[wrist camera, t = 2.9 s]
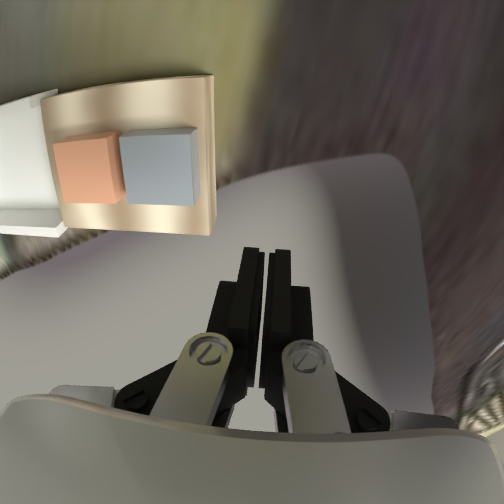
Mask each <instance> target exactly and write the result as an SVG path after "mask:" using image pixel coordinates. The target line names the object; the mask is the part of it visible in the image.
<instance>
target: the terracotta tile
mask: <svg viewBox="0 0 504 504" xmlns="http://www.w3.org/2000/svg"><path fill="white" fill-rule="evenodd" d="M119 137H120V132H119V131H112V132H101V133H91V134H81V135H73V136H67V137H65V138H63V139H61V140H59V141H57V142H55V143H53V149H54V155H55V160H56V166H57V171H58V176H59V180H60V185H61V189H62V194H63V198H64V202H65V203H102V204H116V203H117V202H118V201H119V200H120V199H121V198H122V197H123V196H124V195H125V194H126V188H125V182H124V175H123V168H122V160H121V152H120V144H119Z"/></svg>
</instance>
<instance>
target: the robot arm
mask: <svg viewBox="0 0 504 504" xmlns="http://www.w3.org/2000/svg"><path fill="white" fill-rule="evenodd" d="M264 257H265V253H264V252H259V248H252V247H244V250H243V255H242V260H241V264H240V269H239V274H238V280H237V282H231V281H220V282H219V286H218V289H217V293H216V297H215V300H214V304H213V308H212V312H211V316H210V319H209V323H208V327H207V331H206V333H200V334H198V335H195V336H193V337H192V338H191V339H189V340H188V342H187V343H186V345H185V346H184V348H183V350H182V352H181V354H180V356H179V358H178V360H176V361H174V362H172V363H170V364H168V365H166V366H164V367H162V368H160V369H158V370H156V371H154V372H153V373H150V374H148V375H147V376H144V377H142V378H141V379H138V380H137V381H134V382H132V383H130V384H128V385H126V386H125V387H123V388H122V389H121V390H115V389H114V387H100V386H76V385H60V386H57V387H55V388H53V389H52V390H51V391H50V392H49V394H32V395H25V396H21V397H17V398H15V399H13V400H12V401H10V402H9V403H7V404H6V405H5V407H4V408H3V409H2V410H1V412H0V504H504V465H503V462H502V460H501V457H500V455H499V453H498V451H497V449H496V447H495V446H494V445H493V444H492V442H491V441H490V440H488V439H487V438H485V437H483V436H481V435H479V434H476V433H473V432H469V431H465V430H459V427H458V425H457V424H456V422H455V421H454V420H452V419H451V418H449V417H446V416H440V415H430V414H422V413H414V412H406V411H399V410H395V411H394V412H393V413H392V412H387V411H386V410H385V409H384V408H383V407H382V406H381V405H379V404H378V403H377V402H375V401H374V400H372V399H371V398H370V397H369V396H367V395H366V394H365V393H363V392H362V391H361V390H359V389H358V388H357V387H355V386H354V385H353V384H351V383H350V382H349V381H347V380H346V379H345V378H343V377H342V376H341V375H339V374H338V373H337V372H336V371H335V370H334V367H333V363H332V360H331V356H330V354H329V352H328V350H327V349H326V348H325V347H324V346H323V345H321V344H319V343H318V342H315V341H313V327H312V311H311V297H310V288H309V287H302V286H291V251H290V250H282V249H276V250H275V253H270V254H269V265H268V277H267V290H266V301H265V312H264V324H263V336H262V351H261V364H260V378H259V388H265V394H264V397H265V400H266V401H267V402H268V403H269V404H270V405H272V406H273V407H274V411H273V413H274V420H275V429H276V432H262V431H250V430H239V429H229V428H228V426H229V423H230V420H231V417H232V414H233V411H234V407H235V403H237V402H239V401H240V400H241V399H243V398H245V395H247V388H248V387H254V380H255V370H256V361H257V351H258V340H259V330H260V321H261V310H262V293H263V276H264Z"/></svg>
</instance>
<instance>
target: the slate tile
mask: <svg viewBox="0 0 504 504" xmlns="http://www.w3.org/2000/svg"><path fill="white" fill-rule="evenodd" d="M119 144H120V152H121V160H122V168H123V175H124V182H125V188H126V195H127V201H128V204H147V205H176V206H194V205H195V203H196V202H197V200H198V198H199V196H200V195H201V190H200V170H199V145H198V128H160V129H139V130H130V131H129V132H127V133H125V134H123V135H122V136H120V137H119Z"/></svg>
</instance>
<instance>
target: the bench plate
mask: <svg viewBox="0 0 504 504" xmlns="http://www.w3.org/2000/svg"><path fill="white" fill-rule="evenodd" d="M40 105H41V113H42V121H43V128H44V134H45V140H46V146H47V152H48V157H49V163H50V168H51V172H52V177H53V182H54V186H55V191H56V195H57V199H58V203H59V207H60V211H61V215H62V218H63V222H64V226H65V227H70V228H90V229H109V230H127V231H144V232H161V233H178V234H194V235H195V234H196V235H210V233H211V230H212V228H213V225H214V223H215V220H216V218H217V214H216V181H215V137H214V75H199V76H179V77H166V78H154V79H144V80H135V81H127V82H120V83H113V84H106V85H100V86H94V87H89V88H83V89H78V90H73V91H68V92H64V93H60V94H56V95H53V96H50V97H47V98H44V99H41V100H40ZM160 128H198V145H199V170H200V190H201V195H200V196H199V198H198V200H197V202H196V203H195V205H194V206H176V205H147V204H128V201H127V195H126V194H125V195H124V196H123V197H122V198H121V199H120V200H119V201H118V202H117V203H116V204H102V203H65V202H64V198H63V194H62V189H61V185H60V180H59V176H58V171H57V166H56V160H55V155H54V149H53V143H55V142H57V141H59V140H61V139H63V138H65V137H67V136H73V135H81V134H91V133H101V132H112V131H119V132H120V136H122V135H123V134H125V133H127V132H129V131H130V130H139V129H160Z"/></svg>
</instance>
